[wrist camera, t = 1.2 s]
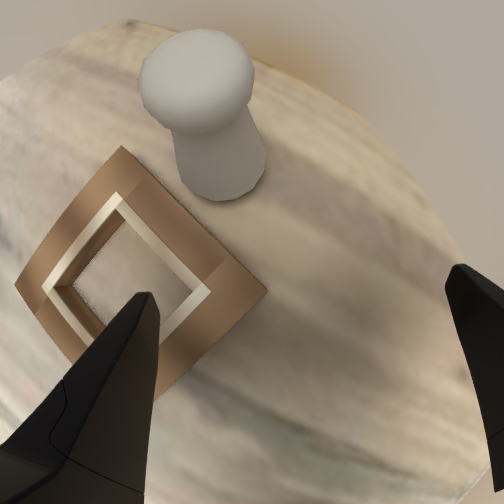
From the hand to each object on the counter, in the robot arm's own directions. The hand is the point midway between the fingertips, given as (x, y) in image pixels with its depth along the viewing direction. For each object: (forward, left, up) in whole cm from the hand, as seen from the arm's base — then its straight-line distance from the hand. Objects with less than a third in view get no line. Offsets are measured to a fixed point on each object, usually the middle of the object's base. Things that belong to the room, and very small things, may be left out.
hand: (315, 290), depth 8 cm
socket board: (-8, +7, -13) cm, 17 cm away
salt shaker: (+3, +8, -13) cm, 16 cm away
